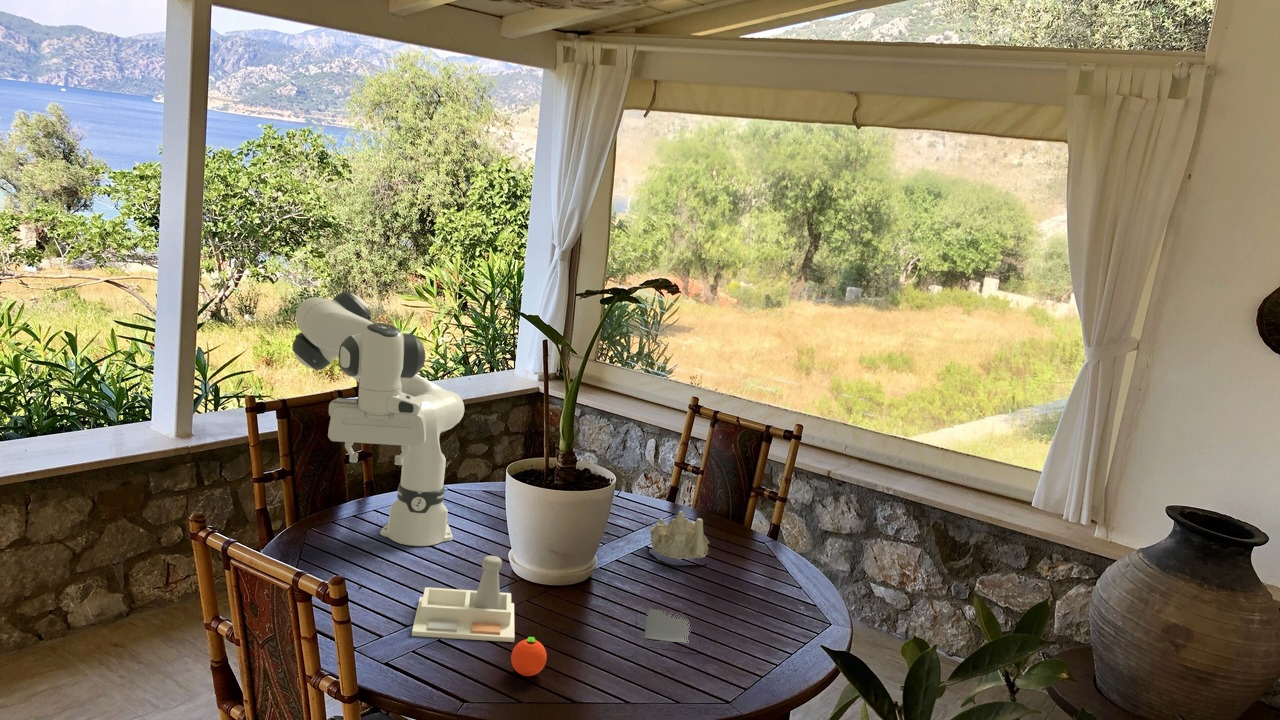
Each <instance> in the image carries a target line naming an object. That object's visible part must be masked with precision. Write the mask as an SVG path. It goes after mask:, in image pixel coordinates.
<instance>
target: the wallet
mask: <svg viewBox="0 0 1280 720" xmlns="http://www.w3.org/2000/svg"><path fill="white" fill-rule="evenodd" d="M649 609H650V611H649V612H648V613H647V614H646V615H648V616H647V617H646V618H645V633H644V639H647V640H652V641H658V642H659V641H664V642H665V641H667V642H682V643H683V642H684V643H689V640H688V635H689V633H690V632H691V631H690V629H691V628H690V629H689V627H690V626H689V625H690V622H689V620H688V619H686V618H687V617H686V618H685V619H686V620H685V619H684V617H685V616H684V617H683V618H682V616H683V615H684V614H683V615H682V616H681V617H680V618H679V616H680V615H679V616H678V617H677V616H676V617H677V619H676V617H675V615H676V614H675V615H674V616H673V617H672V618H671V616H672V614H673V613H672V614H671V612H672V611H671V612H670V613H669V614H668V615H667V613H668V612H667V613H666V611H667V610H664V611H665V612H664V613H663V609H657V610H656V609H655V608H649ZM661 610H662V611H661ZM665 613H666V614H665ZM679 613H680V614H681V613H682V612H679ZM670 614H671V615H670ZM666 615H667V616H666ZM677 615H678V614H677ZM674 617H675V618H674ZM678 618H679V619H678ZM681 618H682V619H681ZM683 619H684V620H683ZM687 620H688V621H687ZM688 622H689V624H688ZM687 624H688V625H687ZM688 629H689V630H688ZM689 631H690V632H689ZM684 636H685V637H684ZM686 637H687V638H686ZM684 638H685V639H684ZM686 639H687V640H686ZM686 641H688V642H686Z"/></svg>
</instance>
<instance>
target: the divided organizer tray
mask: <svg viewBox="0 0 1280 720" xmlns="http://www.w3.org/2000/svg"><path fill="white" fill-rule="evenodd" d="M476 593H477V590H473V589H472V590H471V589H457V588H456V589H455V588H443V587H442V588H441V587H428V586H427V587H424V591H423V595H422V596H419V598H418V599H419V600H418V604H417V608H416V612H415V617H414V621H413V625H412V630H411V637H423V638H424V637H425V638H443V639H456V640H457V639H458V640H459V639H460V640H473V641H474V640H475V641H489V642H490V641H491V642H505V643H506V642H508V643H509V642H510V643H515V603H514V602H512V593H511V592H501V591H500V608H499V610H497V609H482V608H475V607H474V600H475V597H476Z"/></svg>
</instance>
